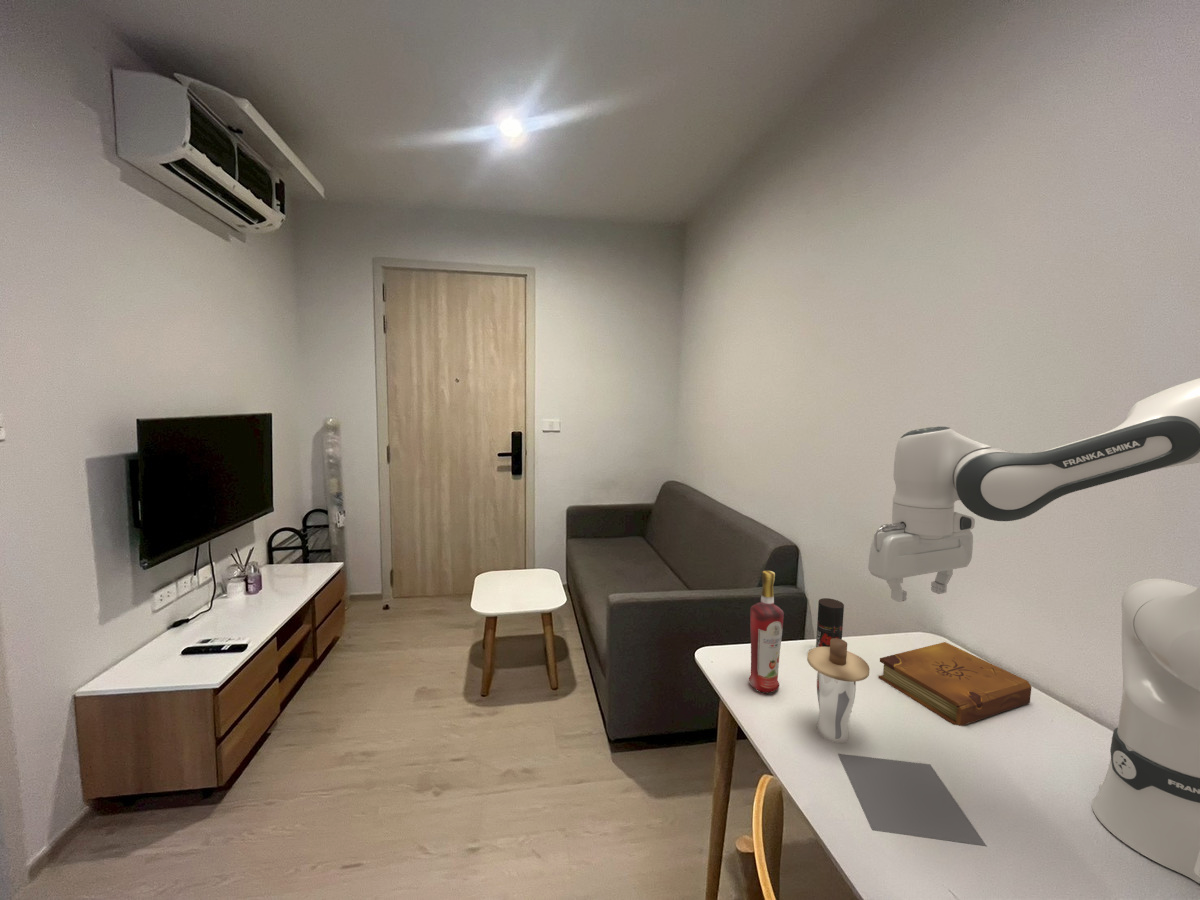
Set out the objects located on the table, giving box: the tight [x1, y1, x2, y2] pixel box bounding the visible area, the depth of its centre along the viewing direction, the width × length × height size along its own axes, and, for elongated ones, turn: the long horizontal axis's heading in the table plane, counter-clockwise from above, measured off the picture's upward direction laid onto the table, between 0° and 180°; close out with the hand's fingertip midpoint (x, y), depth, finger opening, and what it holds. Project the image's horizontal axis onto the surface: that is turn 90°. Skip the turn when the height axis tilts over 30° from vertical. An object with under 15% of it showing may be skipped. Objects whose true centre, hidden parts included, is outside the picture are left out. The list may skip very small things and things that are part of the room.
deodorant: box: [815, 597, 845, 648], centre depth 122 cm, size 6×6×15 cm
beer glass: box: [816, 671, 857, 744], centre depth 94 cm, size 7×7×15 cm
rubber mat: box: [837, 753, 987, 847], centre depth 79 cm, size 16×16×1 cm
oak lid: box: [806, 638, 871, 683], centre depth 92 cm, size 11×11×5 cm
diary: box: [878, 641, 1032, 727], centre depth 109 cm, size 23×19×6 cm
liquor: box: [748, 570, 785, 694], centre depth 108 cm, size 7×7×28 cm
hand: (918, 596), depth 83 cm, fingers open, 8 cm apart
